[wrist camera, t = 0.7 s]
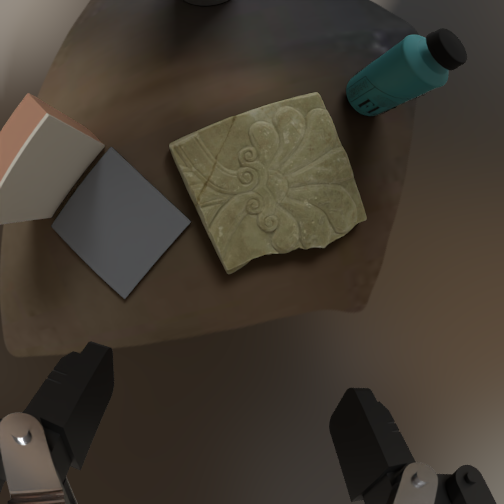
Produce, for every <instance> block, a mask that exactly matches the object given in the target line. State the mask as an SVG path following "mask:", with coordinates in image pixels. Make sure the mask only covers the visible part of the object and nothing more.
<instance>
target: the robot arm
mask: <svg viewBox="0 0 504 504" xmlns="http://www.w3.org/2000/svg"><path fill="white" fill-rule="evenodd" d="M184 1H186V2H188V3H190V4H194V5H200V6H210V5H217V4H221V3H223V2H226V1H228V0H184ZM113 388H114V371H113V351H112V348H110V347H107V346H104V345H100V344H97V343H94V342H89V343H88V344H87V345H86V347H85V348H84V349H83V351H82V352H81V354H79V353H77V352H74V351H73V352H71V353H70V354H68V355H66V356H64V357H63V358H61V359H60V361H59V362H58V364H57V365H56V366H55V368H54V370H53V371H52V372H51V373H50V374H49V376H48V379H46V380H45V381H44V383H43V384H42V386H41V387H40V389H39V390H38V392H37V393H36V395H35V396H34V397H33V399H32V400H31V402H30V403H29V405H28V406H27V408H26V409H25V410H24V411H23V412H22V413H12V414H9V415H7V416H6V417H4V418H3V419H0V492H1V489H2V487H3V484H4V482H5V481H7V482H8V487H9V491H10V495H11V500H9V501H8V503H7V504H78V503H77V501H76V499H75V497H74V494H73V492H72V490H71V487H70V485H69V482H68V480H67V477H66V475H67V472H68V470H69V467H70V466H71V467H74V468H76V469H79V470H81V468H82V465H83V463H84V460H85V458H86V455H87V453H88V450H89V448H90V445H91V443H92V440H93V438H94V435H95V433H96V431H97V428H98V426H99V424H100V421H101V419H102V417H103V414H104V412H105V410H106V407H107V405H108V403H109V401H110V399H111V396H112V393H113ZM329 429H330V434H331V437H332V440H333V443H334V446H335V450H336V453H337V456H338V459H339V463H340V466H341V469H342V473H343V476H344V479H345V483H346V486H347V489H348V492H349V495H350V499H351V502H353V501H359V500H364V502H365V504H496V502H495V500H494V498H493V496H492V494H491V492H490V490H489V488H488V486H487V484H486V482H485V480H484V479H483V477H482V475H481V473H480V472H479V471H478V470H477V469H476V468H474V467H473V466H470V465H463V466H461V467H460V468H458V469H457V470H456V471H455V472H454V473H453V474H452V475H451V474H436V472H435V471H434V470H433V469H432V468H431V467H430V466H428V465H427V464H424V463H420V462H415V460H414V458H413V456H412V454H411V452H410V450H409V448H408V446H407V444H406V442H405V440H404V438H403V437H402V435H401V433H400V432H399V429H398V427H397V425H396V424H395V423H394V419H393V418H392V416H391V414H390V412H389V410H388V409H387V408H385V406H383V404H381V403H380V402H377V400H376V398H375V397H374V395H373V393H372V391H371V390H370V389H369V388H349V389H347V391H346V392H345V394H344V396H343V398H342V399H341V401H340V402H339V404H338V406H337V408H336V409H335V411H334V412H333V414H332V416H331V419H330V424H329Z"/></svg>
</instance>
